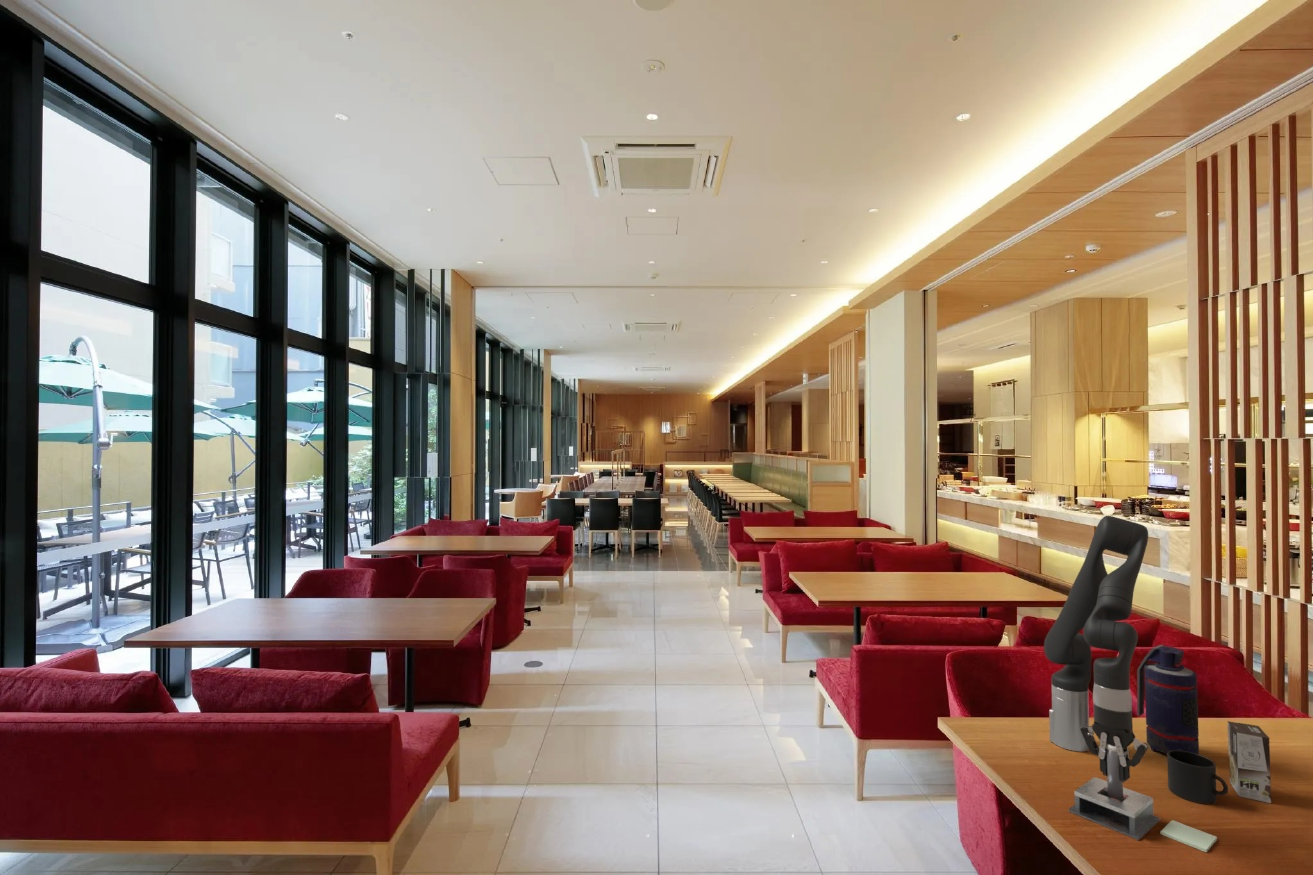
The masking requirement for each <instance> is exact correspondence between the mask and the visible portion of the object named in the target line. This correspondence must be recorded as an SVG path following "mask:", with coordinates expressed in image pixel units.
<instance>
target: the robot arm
mask: <svg viewBox="0 0 1313 875" xmlns="http://www.w3.org/2000/svg"><path fill="white" fill-rule="evenodd" d="M1148 541H1149V530H1148V528H1147V527H1146V526H1145V525H1143V524H1140V523H1137V522H1134V521H1131V520H1127V519H1123V518H1120V517H1116V516H1112V515H1105V516H1103V517H1101V519H1100V520H1099V522H1098V523H1097V526H1096V528H1095V531H1094V533H1093V536H1092V539H1091V542H1090V545H1089V548H1088V551H1087V553H1086V556H1085V559H1084V561H1083V563H1082V566H1081V568H1080V569H1079V571H1078V574H1077V576H1076V578H1075V580H1074V581H1073V583H1072V587H1071V589H1070V590H1069V593H1068V595H1067V599H1066V600H1065V602H1064V604H1063V607H1062V609H1061V611H1060V612H1059V615H1058V617H1057V619H1056V620H1055V621H1054V623H1053V625H1052V626H1051V628H1050V629H1049V631H1048V633H1047V634H1046V637H1045V638H1044V641H1043V642H1044V643H1043V651H1044V655H1045V657H1046V658H1047V660H1048V661H1050V662H1051V663H1053V664H1056V665H1061V666H1064V667H1062V668H1061V669H1059V670H1058V671H1056V672H1054V673H1052V675H1051V679H1050V680H1051V708H1049V711H1048V713H1049V714H1048V715H1049V742H1050V743H1053V744H1055V745H1056V746H1058V747H1059V748H1062V749H1066V750H1068V751H1074V752H1087V751H1089V752H1090V754H1092V755H1095V756H1097V757H1098V758H1099V770H1100V772H1101V773H1102V775H1103V776H1106V777H1107V757H1106V746H1107V744H1110V745H1114V746H1116V750H1117V754H1118V756H1119V759H1120V764H1121V765H1120V781H1122V782H1123V783H1125V782H1127V781H1128V780H1130V778H1131V774H1130V772H1131V770H1130V767H1134V768H1135V767H1136V766H1138V765H1139V764H1140V762H1141V761H1142V759H1143V757H1144V755H1145V754H1146V752H1147V750H1148V748H1150V745H1148V743H1147V742H1142V741H1140V740H1139V739H1138V738H1136V735H1135V733H1134V731H1133V725H1134V724H1133V703H1132V701H1133V699H1132V698H1133V697H1132V693H1131V686H1130V684H1131V683H1130V678H1131V677H1130V673H1131V672H1130V669H1131V663H1132V659H1133V656H1134V652H1135V650H1136V647H1137V644H1138V640H1139V635H1138V632H1137V630H1136V628H1135V627H1134V626H1133V625H1132V624H1130V623H1128V622H1124V621H1125V620H1127V619H1129V618H1130V617H1131V614H1132V608H1133V598H1134V593H1135V592H1134V591H1135V586H1136V583H1137V579H1138V576H1139V574H1140V570H1141V568H1142V564H1143V560H1144V556H1145V553H1146V549H1147V546H1148ZM1106 550H1107V551H1109V552H1112V553H1115V554H1119V555H1123V556H1126V558H1127V559H1126V560H1125V561H1124V562H1123V563H1122V564H1121V565H1120V566H1118V567H1117V568H1116V569H1114V570H1113V571H1110V573H1108V571H1107V568H1106V566H1105V561H1104V556H1103V554H1104V551H1106ZM1122 621H1123V622H1122ZM1081 631H1082V632H1083V633H1080V632H1081ZM1091 647H1092V648H1095V649H1100V650H1107V651H1113V652H1118V655H1117V656H1115V657H1101V658H1100V657H1099V658H1096V659H1094V662H1093V688H1092V701H1093V702H1092V703H1093V723H1092V725H1090V709H1089V700H1090V699H1089V684H1090V682H1091V679H1092V675H1091V674H1092V649H1091ZM1094 735H1096V737H1097V738H1098V740H1099V746H1098V743H1097V742H1096V739H1095V737H1094ZM1131 744H1133V745H1134V747H1133V748H1134V750H1135V752H1134V754H1133V756H1132V758H1130V755H1129V754H1130V753H1129V752H1130V751H1129V746H1130V745H1131Z"/></svg>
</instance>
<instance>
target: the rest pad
mask: <svg viewBox="0 0 1313 875" xmlns="http://www.w3.org/2000/svg"><path fill="white" fill-rule="evenodd" d="M1160 835H1161V836H1164V837H1166V838H1169V839H1171V840H1174V841H1176V842H1179V843H1181V844H1185V845H1186V846H1188V847H1192V848H1195V849H1197V850H1199V851H1202V852H1204V853H1207V852H1208V851H1209V850H1210V849H1211V847H1213V845H1215V843H1216V842H1217V841H1218V837H1217V836H1216V835H1213V834H1210V833H1207V832H1206V831H1205V832H1204V831H1202V830H1200V829H1196V828H1194V827H1191V826H1189V825H1186V824H1184V823H1181V822H1178V821H1176V820H1170V822H1169V823H1168V824H1166V825H1165V826H1164V828H1162V830H1160Z"/></svg>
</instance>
